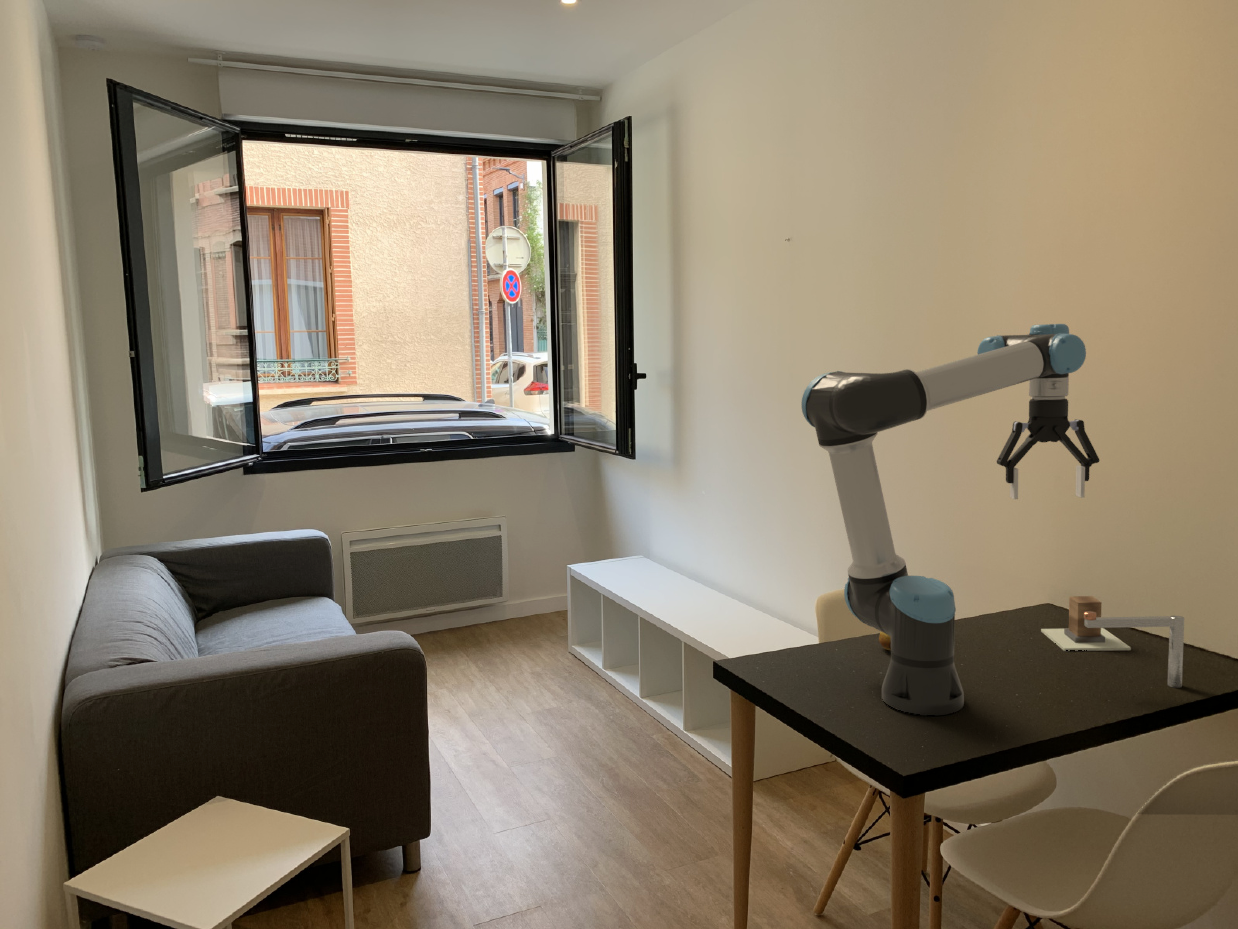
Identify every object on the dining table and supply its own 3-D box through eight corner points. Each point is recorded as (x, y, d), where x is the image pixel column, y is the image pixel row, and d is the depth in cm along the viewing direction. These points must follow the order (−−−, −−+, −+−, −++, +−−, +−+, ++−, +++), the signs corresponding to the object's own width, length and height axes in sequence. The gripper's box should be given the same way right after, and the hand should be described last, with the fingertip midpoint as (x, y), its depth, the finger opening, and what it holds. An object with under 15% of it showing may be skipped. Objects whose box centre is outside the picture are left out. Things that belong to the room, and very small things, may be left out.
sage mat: (1064, 651, 204) (1064, 648, 204) (1041, 631, 218) (1041, 629, 218) (1130, 650, 203) (1130, 647, 203) (1103, 630, 217) (1103, 628, 217)
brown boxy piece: (1075, 642, 207) (1076, 603, 206) (1064, 633, 214) (1064, 595, 213) (1105, 642, 207) (1106, 603, 206) (1093, 633, 213) (1094, 595, 212)
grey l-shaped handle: (1184, 687, 181) (1187, 613, 179) (1085, 688, 183) (1086, 614, 181) (1177, 683, 183) (1180, 609, 181) (1080, 684, 185) (1081, 611, 183)
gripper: (993, 401, 193) (992, 501, 196) (1118, 396, 191) (1115, 498, 193) (982, 398, 200) (981, 496, 203) (1102, 394, 198) (1100, 492, 201)
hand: (1046, 497), depth 198 cm, fingers open, 13 cm apart
